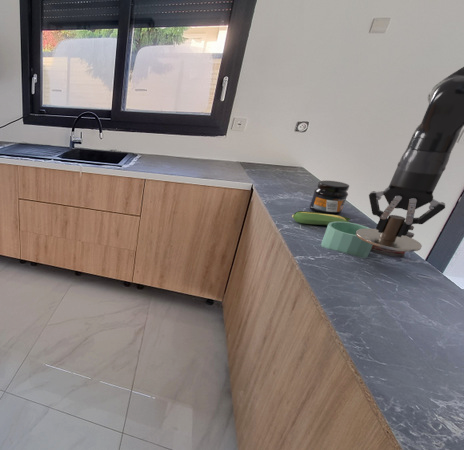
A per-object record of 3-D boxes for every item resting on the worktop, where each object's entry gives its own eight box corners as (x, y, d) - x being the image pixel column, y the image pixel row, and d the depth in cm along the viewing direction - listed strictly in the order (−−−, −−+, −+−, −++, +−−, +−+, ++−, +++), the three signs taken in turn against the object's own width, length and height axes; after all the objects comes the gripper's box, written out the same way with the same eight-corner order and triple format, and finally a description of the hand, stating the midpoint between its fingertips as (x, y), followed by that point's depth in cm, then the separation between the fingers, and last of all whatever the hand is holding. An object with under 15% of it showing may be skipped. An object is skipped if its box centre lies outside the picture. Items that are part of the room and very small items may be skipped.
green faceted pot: (370, 250, 98) (379, 228, 95) (364, 263, 91) (374, 240, 88) (325, 238, 106) (332, 218, 103) (317, 249, 99) (324, 228, 96)
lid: (421, 242, 81) (434, 217, 78) (418, 259, 74) (432, 231, 71) (358, 228, 90) (368, 205, 87) (350, 241, 82) (360, 216, 79)
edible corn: (288, 219, 121) (292, 208, 120) (352, 225, 115) (356, 214, 113) (292, 224, 117) (296, 213, 115) (358, 231, 110) (363, 219, 109)
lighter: (369, 251, 97) (381, 222, 93) (367, 247, 100) (379, 218, 96) (405, 258, 93) (419, 228, 89) (402, 253, 95) (416, 224, 91)
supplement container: (331, 218, 122) (341, 188, 117) (302, 209, 131) (311, 182, 126) (346, 213, 126) (357, 185, 121) (318, 205, 135) (327, 178, 130)
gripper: (465, 171, 71) (429, 238, 78) (381, 161, 81) (356, 222, 88) (466, 177, 67) (428, 247, 74) (377, 166, 76) (351, 229, 83)
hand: (389, 233), depth 81 cm, fingers closed on lid, 3 cm apart
